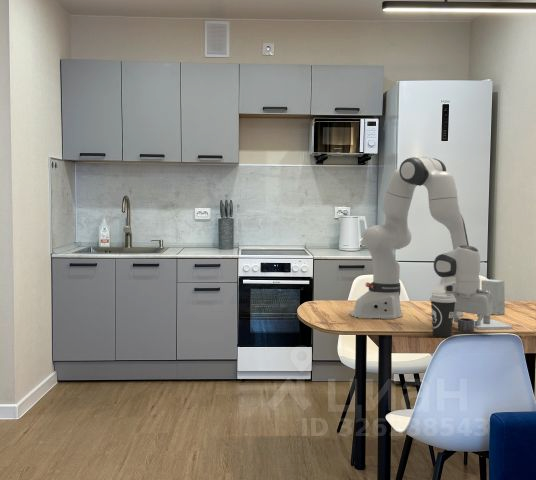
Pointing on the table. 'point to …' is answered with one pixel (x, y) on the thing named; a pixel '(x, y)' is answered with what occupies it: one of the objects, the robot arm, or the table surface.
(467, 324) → the ring
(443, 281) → the vase
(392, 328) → the table surface
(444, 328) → the coffee cup
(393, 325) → the table surface
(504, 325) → the post
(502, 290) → the skincare box
